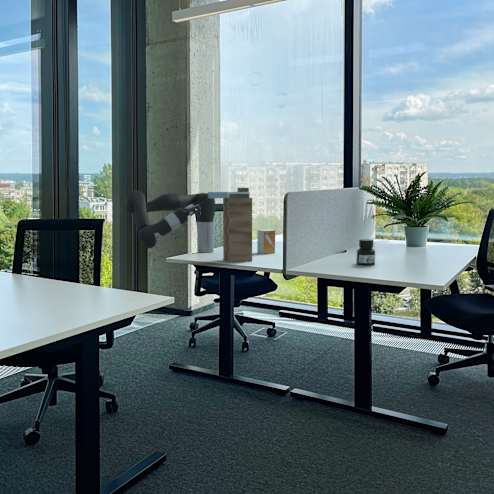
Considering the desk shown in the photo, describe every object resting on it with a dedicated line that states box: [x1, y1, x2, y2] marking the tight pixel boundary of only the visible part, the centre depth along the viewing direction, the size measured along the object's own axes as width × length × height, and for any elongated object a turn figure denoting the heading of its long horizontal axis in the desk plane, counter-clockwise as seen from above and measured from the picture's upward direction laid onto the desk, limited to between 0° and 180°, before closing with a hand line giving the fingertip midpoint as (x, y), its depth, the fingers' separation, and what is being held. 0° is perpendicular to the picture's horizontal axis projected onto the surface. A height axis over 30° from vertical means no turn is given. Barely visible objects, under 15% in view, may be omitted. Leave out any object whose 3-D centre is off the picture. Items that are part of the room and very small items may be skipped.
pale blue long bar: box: [207, 187, 251, 199], centre depth 272 cm, size 3×21×5 cm, turn 111°
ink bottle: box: [356, 238, 376, 266], centre depth 267 cm, size 10×9×12 cm
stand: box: [222, 194, 253, 263], centre depth 276 cm, size 10×12×34 cm
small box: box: [256, 229, 276, 255], centre depth 304 cm, size 8×6×13 cm
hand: (203, 201), depth 267 cm, fingers open, 8 cm apart
